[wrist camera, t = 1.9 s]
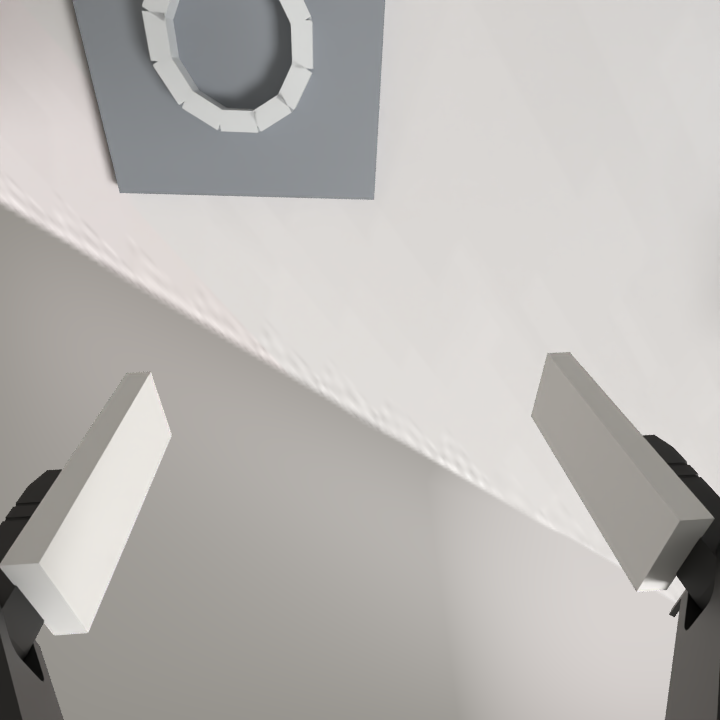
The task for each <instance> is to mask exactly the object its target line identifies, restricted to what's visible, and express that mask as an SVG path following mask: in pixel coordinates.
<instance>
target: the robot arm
mask: <svg viewBox="0 0 720 720" xmlns="http://www.w3.org/2000/svg"><path fill="white" fill-rule="evenodd" d="M531 417H532V418H533V420H534V422H535V423H536V425H537V427H538V428H539V430H540V432H541V433H542V435H543V437H544V438H545V440H546V442H547V443H548V445H549V447H550V448H551V450H552V452H553V453H554V455H555V457H556V458H557V460H558V462H559V463H560V465H561V467H562V468H563V470H564V472H565V473H566V475H567V477H568V478H569V480H570V482H571V483H572V485H573V487H574V488H575V490H576V492H577V493H578V495H579V497H580V498H581V500H582V502H583V503H584V505H585V507H586V508H587V510H588V512H589V513H590V515H591V517H592V518H593V520H594V522H595V523H596V525H597V527H598V528H599V530H600V532H601V533H602V535H603V537H604V538H605V540H606V542H607V543H608V545H609V547H610V548H611V550H612V552H613V553H614V555H615V557H616V558H617V560H618V562H619V563H620V565H621V567H622V568H623V570H624V572H625V573H626V575H627V577H628V578H629V580H630V582H631V583H632V585H633V587H634V588H635V590H636V591H637V592H644V591H657V590H667V589H668V587H669V586H670V584H671V583H672V581H673V580H674V578H675V577H676V575H677V577H678V578H679V580H680V581H681V583H682V584H683V586H684V587H685V588H686V590H685V591H684V592H683V594H682V595H681V597H680V598H679V599H678V601H677V602H676V604H675V605H674V606H673V608H672V610H671V612H670V614H669V615H671V616H673V617H675V616H676V614H677V613H678V611H679V619H678V626H677V633H676V641H675V649H674V656H673V664H672V672H671V679H670V687H669V694H668V702H667V709H666V717H665V720H720V497H719V496H718V495H717V494H716V493H715V492H714V491H713V490H712V488H711V487H710V486H709V485H708V484H707V483H706V482H705V481H704V480H703V479H702V478H701V477H698V473H697V472H696V471H695V470H694V469H693V468H692V467H691V466H690V465H687V462H686V460H685V459H684V458H683V457H682V456H681V455H680V454H679V453H678V452H677V451H676V450H675V449H674V448H673V447H672V446H670V445H669V444H667V443H666V442H664V441H663V440H661V439H660V438H658V437H657V436H655V435H644V436H642V435H641V433H640V432H639V431H638V430H637V429H636V428H635V427H634V425H633V424H632V423H631V422H630V421H629V420H628V419H627V417H626V416H625V415H624V414H623V413H622V412H621V411H620V409H619V408H618V407H617V406H616V405H615V404H614V403H613V401H612V400H611V399H610V398H609V397H608V396H607V395H606V393H605V392H604V391H603V390H602V389H601V388H600V387H599V385H598V384H597V383H596V382H595V381H594V380H593V378H592V377H591V376H590V375H589V374H588V373H587V372H586V370H585V369H584V368H583V367H582V366H581V365H580V364H579V362H578V361H577V360H576V359H575V358H574V357H573V356H572V354H571V353H570V352H566V353H547V357H546V361H545V365H544V369H543V372H542V376H541V380H540V384H539V388H538V392H537V395H536V399H535V403H534V407H533V411H532V415H531ZM171 436H172V434H171V431H170V429H169V425H168V422H167V419H166V417H165V413H164V411H163V408H162V404H161V402H160V398H159V395H158V392H157V389H156V386H155V384H154V381H153V377H152V374H151V372H138V373H126V375H125V376H124V378H123V379H122V380H121V382H120V384H119V385H118V387H117V388H116V390H115V391H114V393H113V394H112V396H111V397H110V399H109V400H108V402H107V403H106V405H105V406H104V408H103V409H102V411H101V412H100V414H99V415H98V417H97V418H96V420H95V422H94V423H93V424H92V426H91V427H90V429H89V430H88V432H87V433H86V435H85V437H84V438H83V439H82V441H81V442H80V444H79V445H78V447H77V448H76V450H75V451H74V453H73V454H72V456H71V457H70V459H69V460H68V462H67V463H66V465H65V467H64V468H63V469H62V470H47V471H46V472H45V473H43V474H42V475H41V476H40V477H39V478H37V479H36V480H35V481H34V482H33V483H31V484H30V485H29V486H28V487H27V488H26V490H25V491H24V493H23V494H22V495H21V497H20V498H19V500H18V501H17V502H16V506H15V507H13V508H12V509H11V511H10V512H9V514H8V515H7V516H6V520H5V521H3V522H2V523H1V525H0V720H64V719H63V716H62V713H61V710H60V707H59V704H58V701H57V698H56V695H55V692H54V688H53V686H52V683H51V679H50V676H49V673H48V670H47V667H46V664H45V661H44V658H43V655H42V651H41V648H40V646H39V645H38V643H37V642H36V641H35V638H36V636H37V635H38V633H39V631H40V629H41V627H42V625H43V623H45V625H46V626H47V627H48V628H49V630H50V631H51V632H52V633H53V635H63V634H77V633H88V632H89V629H90V627H91V625H92V622H93V620H94V617H95V615H96V613H97V610H98V608H99V606H100V603H101V601H102V599H103V596H104V594H105V592H106V589H107V587H108V584H109V582H110V580H111V577H112V575H113V573H114V570H115V568H116V566H117V563H118V561H119V558H120V556H121V554H122V551H123V549H124V547H125V544H126V542H127V540H128V537H129V535H130V532H131V530H132V528H133V525H134V523H135V521H136V518H137V516H138V514H139V511H140V509H141V507H142V504H143V502H144V499H145V497H146V495H147V492H148V490H149V488H150V485H151V483H152V481H153V478H154V476H155V474H156V471H157V469H158V467H159V464H160V462H161V459H162V457H163V455H164V452H165V450H166V448H167V445H168V443H169V441H170V438H171Z"/></svg>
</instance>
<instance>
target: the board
mask: <svg viewBox="0 0 720 720" xmlns="http://www.w3.org/2000/svg"><path fill="white" fill-rule="evenodd" d="M72 1H73V5H74V9H75V13H76V17H77V21H78V25H79V29H80V33H81V37H82V41H83V45H84V50H85V54H86V58H87V62H88V66H89V70H90V74H91V78H92V82H93V86H94V90H95V94H96V98H97V102H98V106H99V110H100V114H101V118H102V122H103V126H104V131H105V135H106V139H107V143H108V147H109V151H110V155H111V159H112V163H113V167H114V171H115V175H116V179H117V183H118V187H119V191H120V193H144V194H181V195H218V196H255V197H293V198H330V199H367V200H374V190H375V172H376V154H377V136H378V118H379V100H380V82H381V64H382V47H383V29H384V11H385V0H72Z"/></svg>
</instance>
